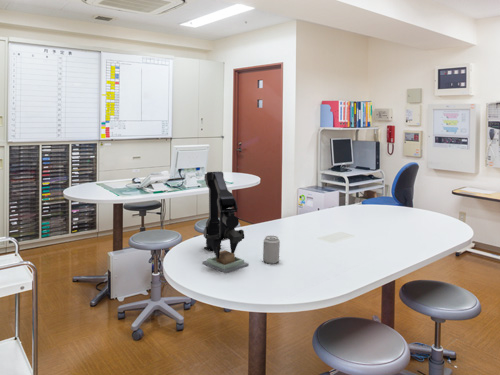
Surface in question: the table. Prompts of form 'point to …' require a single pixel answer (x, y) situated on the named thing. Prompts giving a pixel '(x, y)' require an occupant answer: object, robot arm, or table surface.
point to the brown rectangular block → (225, 257)
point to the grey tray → (225, 268)
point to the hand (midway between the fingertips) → (225, 256)
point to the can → (271, 249)
